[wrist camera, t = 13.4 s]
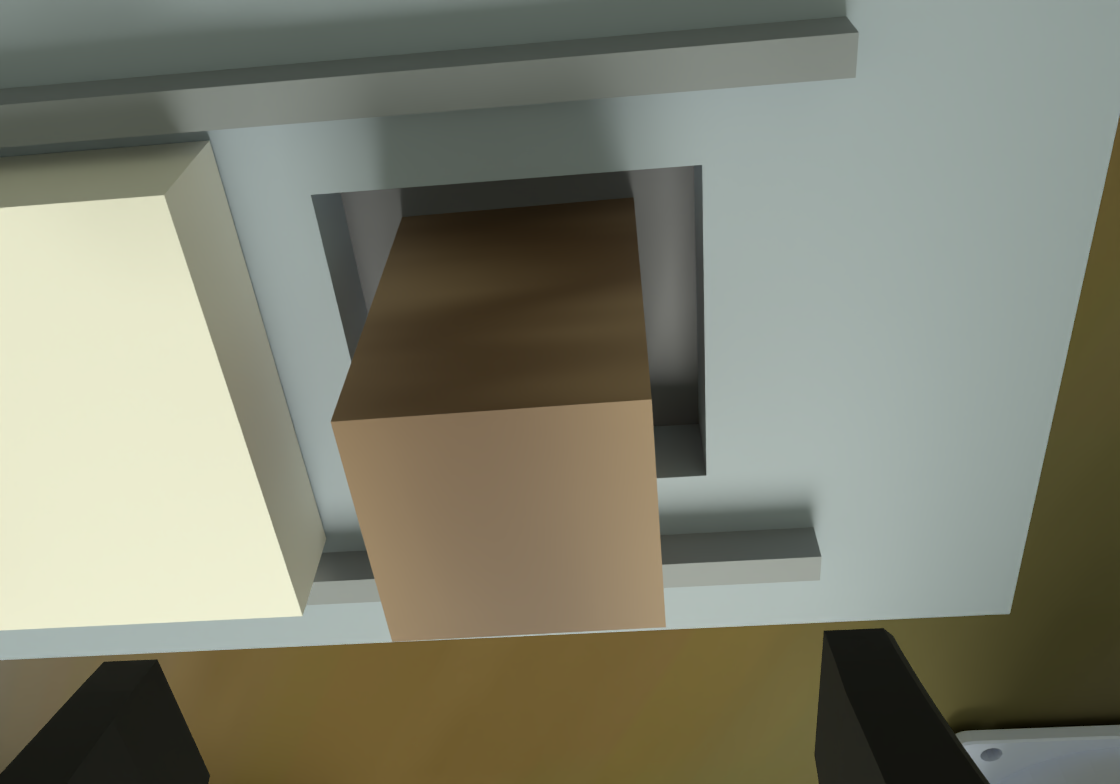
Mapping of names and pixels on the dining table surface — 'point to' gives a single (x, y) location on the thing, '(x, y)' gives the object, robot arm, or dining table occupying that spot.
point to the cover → (140, 402)
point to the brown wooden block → (507, 426)
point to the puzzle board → (657, 251)
